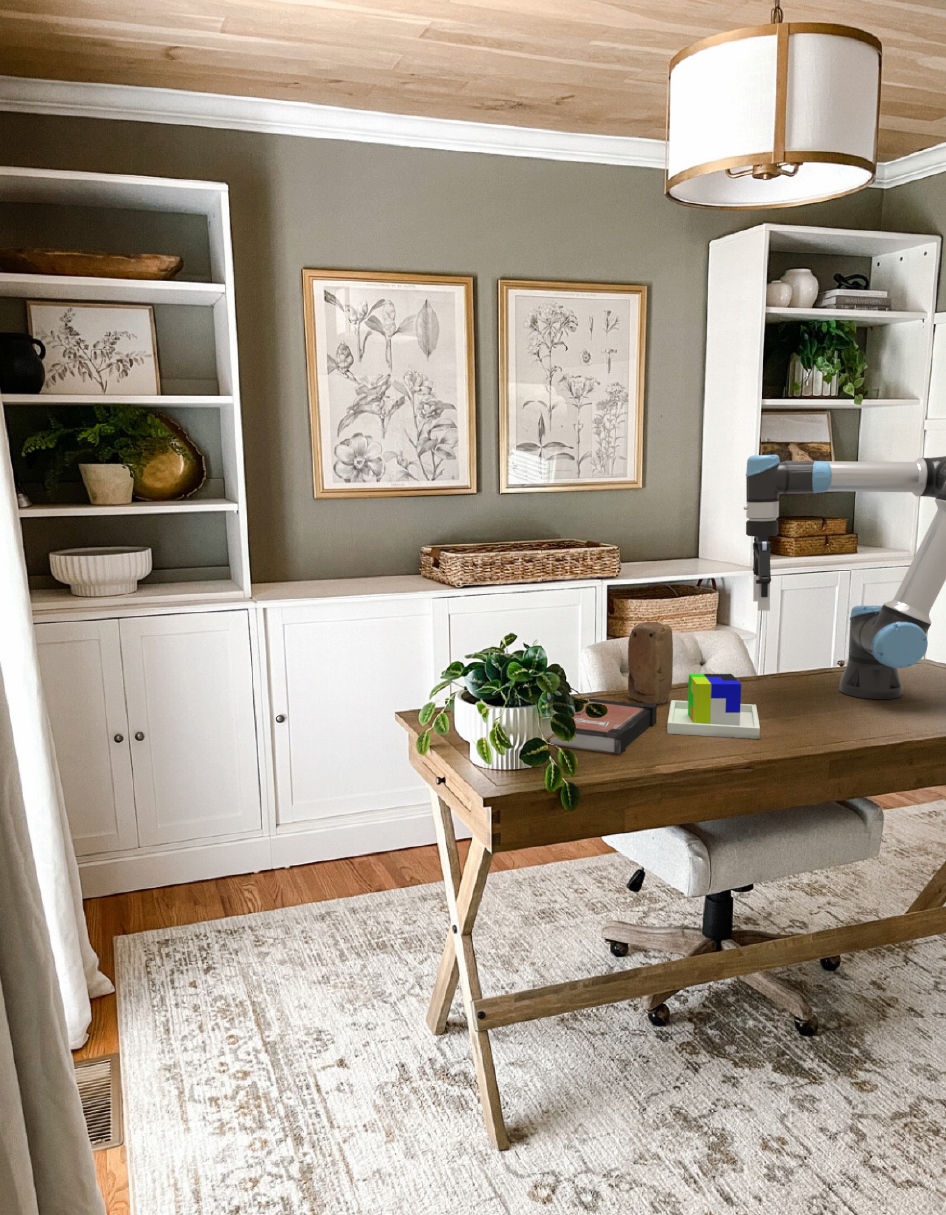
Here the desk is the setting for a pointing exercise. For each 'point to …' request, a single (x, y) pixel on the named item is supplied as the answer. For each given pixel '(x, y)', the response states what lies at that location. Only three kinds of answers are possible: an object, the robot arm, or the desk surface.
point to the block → (650, 662)
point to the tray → (684, 725)
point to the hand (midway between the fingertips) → (761, 605)
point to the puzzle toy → (714, 699)
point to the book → (611, 727)
